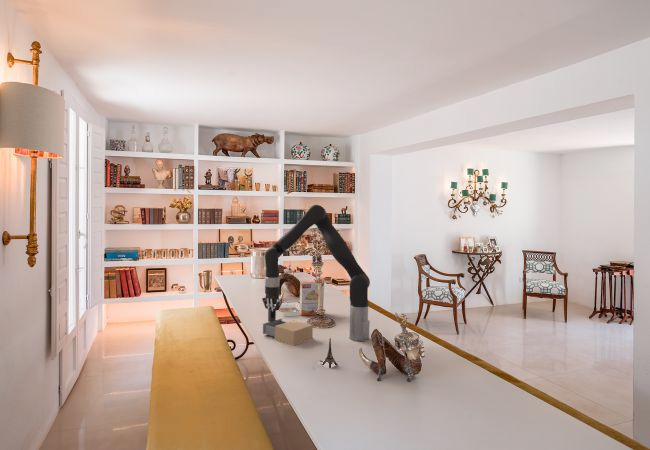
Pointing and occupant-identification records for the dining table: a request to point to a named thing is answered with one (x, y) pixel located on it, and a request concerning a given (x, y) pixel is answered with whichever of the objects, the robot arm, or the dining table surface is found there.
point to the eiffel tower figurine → (329, 356)
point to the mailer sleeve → (293, 332)
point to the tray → (271, 324)
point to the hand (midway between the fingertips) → (271, 317)
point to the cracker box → (309, 297)
